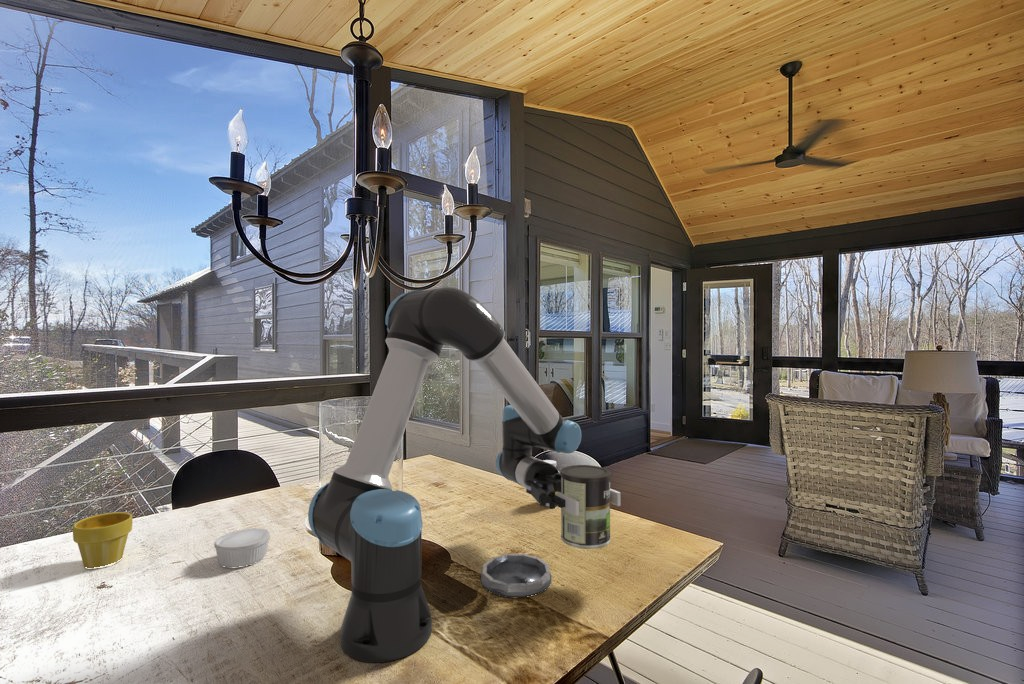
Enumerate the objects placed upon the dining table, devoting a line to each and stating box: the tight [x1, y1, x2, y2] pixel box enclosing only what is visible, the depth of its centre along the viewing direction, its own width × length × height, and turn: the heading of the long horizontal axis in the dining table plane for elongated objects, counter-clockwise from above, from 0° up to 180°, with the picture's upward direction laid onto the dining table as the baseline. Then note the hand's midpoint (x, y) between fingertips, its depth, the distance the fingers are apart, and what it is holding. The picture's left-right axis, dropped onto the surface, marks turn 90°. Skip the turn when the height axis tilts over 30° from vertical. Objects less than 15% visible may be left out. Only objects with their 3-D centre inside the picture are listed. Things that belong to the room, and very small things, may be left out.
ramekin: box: [213, 527, 271, 568], centre depth 113 cm, size 11×11×5 cm
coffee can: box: [560, 464, 612, 550], centre depth 102 cm, size 10×10×14 cm
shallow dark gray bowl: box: [480, 553, 552, 598], centre depth 104 cm, size 15×15×2 cm
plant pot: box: [72, 511, 133, 568], centre depth 111 cm, size 10×10×10 cm
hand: (598, 503), depth 98 cm, fingers closed on coffee can, 10 cm apart
